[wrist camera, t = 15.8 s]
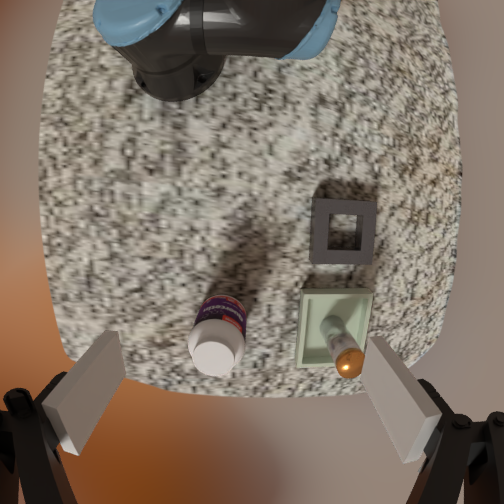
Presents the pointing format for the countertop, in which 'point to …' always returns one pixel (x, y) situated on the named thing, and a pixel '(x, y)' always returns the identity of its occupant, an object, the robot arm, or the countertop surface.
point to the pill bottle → (218, 335)
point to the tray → (321, 306)
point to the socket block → (320, 227)
